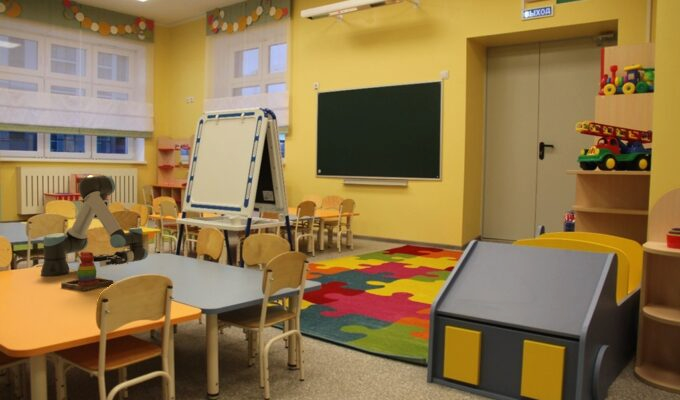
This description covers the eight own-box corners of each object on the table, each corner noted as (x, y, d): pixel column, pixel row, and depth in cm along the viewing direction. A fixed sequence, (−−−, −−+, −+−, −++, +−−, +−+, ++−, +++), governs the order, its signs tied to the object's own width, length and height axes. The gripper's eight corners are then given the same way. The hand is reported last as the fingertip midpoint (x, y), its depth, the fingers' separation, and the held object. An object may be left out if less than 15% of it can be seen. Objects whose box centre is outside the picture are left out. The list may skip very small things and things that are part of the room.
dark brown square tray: (61, 287, 292) (61, 283, 292) (90, 281, 308) (90, 276, 308) (84, 291, 284) (84, 286, 284) (113, 284, 300) (113, 280, 300)
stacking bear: (102, 283, 301) (101, 250, 299) (91, 287, 291) (91, 253, 289) (83, 282, 302) (82, 250, 301) (72, 286, 292) (71, 253, 291)
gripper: (139, 265, 311) (107, 272, 292) (108, 261, 322) (76, 267, 303) (138, 252, 310) (107, 258, 291) (108, 248, 322) (75, 253, 303)
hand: (91, 262), depth 297 cm, fingers open, 13 cm apart
